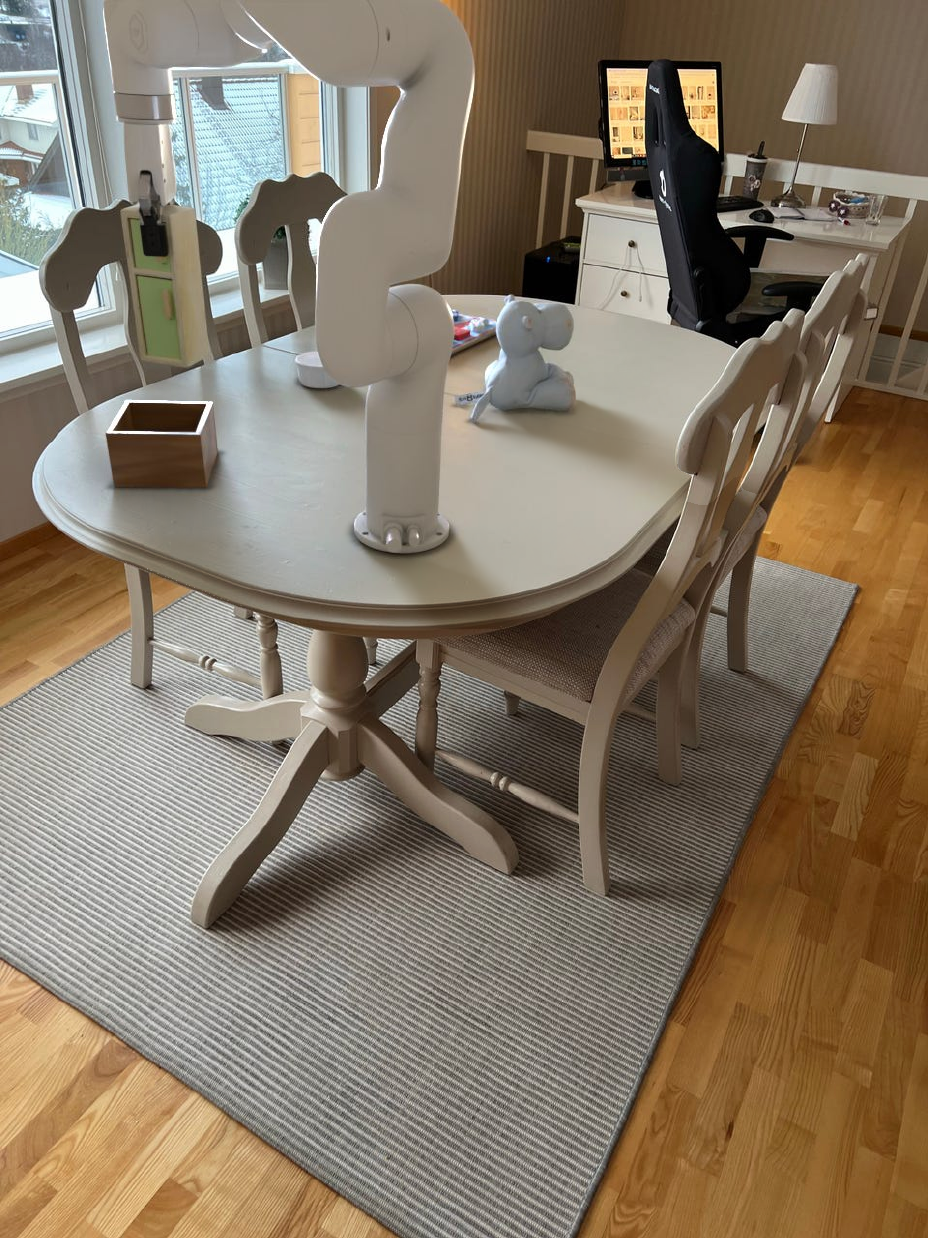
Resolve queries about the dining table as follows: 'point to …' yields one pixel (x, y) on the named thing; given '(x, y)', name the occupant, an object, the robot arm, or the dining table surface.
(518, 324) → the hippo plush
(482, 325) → the puzzle board
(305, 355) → the ramekin
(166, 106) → the robot arm
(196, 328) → the toy refrigerator
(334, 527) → the dining table surface
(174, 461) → the open wooden box
